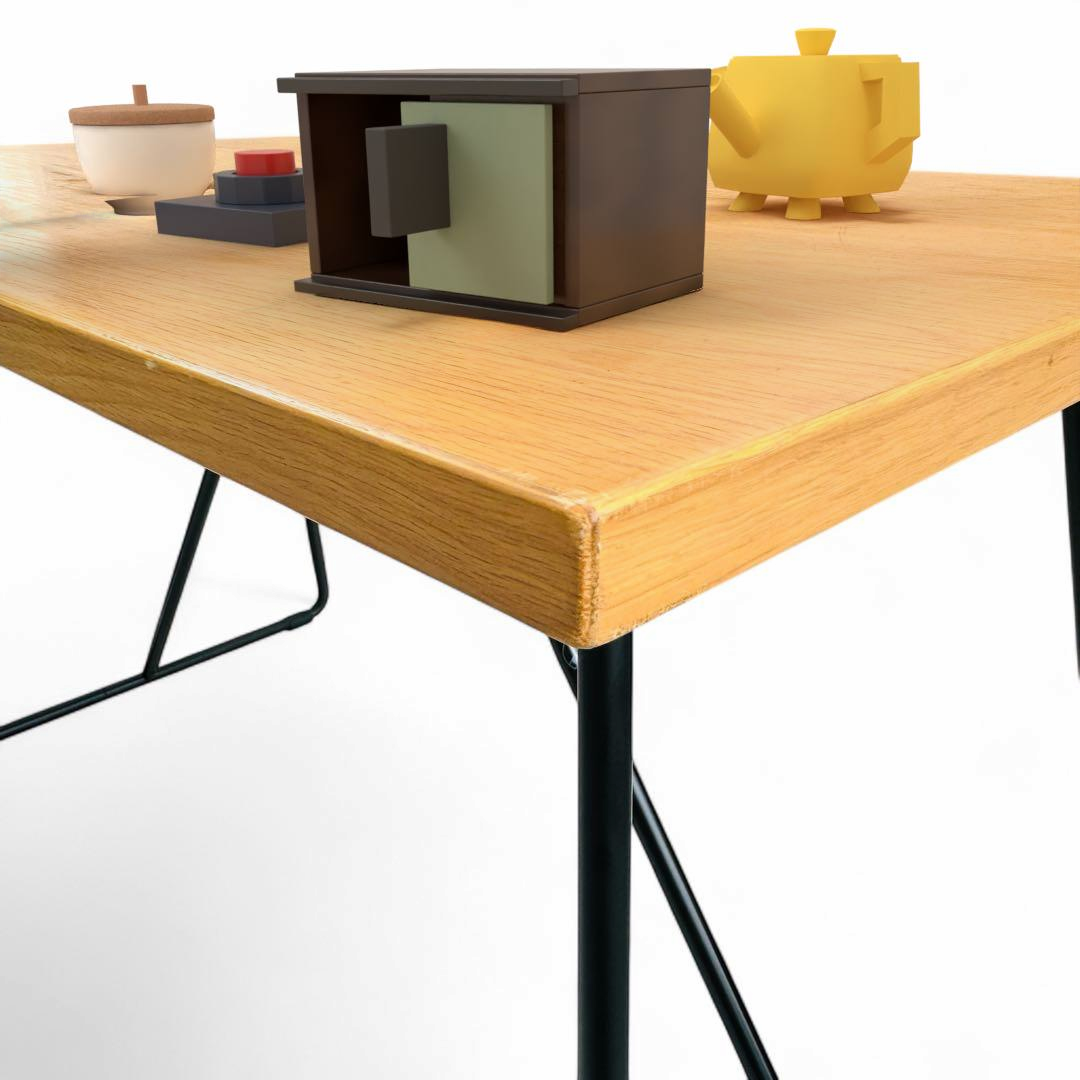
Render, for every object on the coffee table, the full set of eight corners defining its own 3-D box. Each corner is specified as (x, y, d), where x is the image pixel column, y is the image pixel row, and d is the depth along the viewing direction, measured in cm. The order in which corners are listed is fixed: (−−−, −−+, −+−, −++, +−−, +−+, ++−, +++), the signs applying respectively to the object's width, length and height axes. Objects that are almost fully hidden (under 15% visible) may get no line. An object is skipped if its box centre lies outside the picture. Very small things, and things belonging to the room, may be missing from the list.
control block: (157, 233, 84) (150, 173, 82) (268, 218, 91) (263, 162, 90) (275, 248, 77) (269, 182, 76) (384, 229, 84) (381, 170, 83)
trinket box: (61, 211, 96) (41, 85, 93) (185, 200, 103) (171, 82, 99) (119, 223, 89) (100, 87, 85) (249, 210, 95) (237, 83, 92)
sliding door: (489, 320, 51) (483, 108, 48) (350, 300, 55) (336, 105, 52) (554, 303, 54) (553, 103, 51) (417, 284, 59) (408, 101, 56)
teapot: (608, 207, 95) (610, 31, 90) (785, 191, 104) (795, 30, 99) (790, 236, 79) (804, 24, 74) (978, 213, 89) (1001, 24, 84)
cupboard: (562, 332, 53) (561, 73, 49) (294, 291, 63) (275, 73, 59) (703, 288, 62) (712, 68, 58) (450, 259, 72) (442, 68, 68)
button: (224, 179, 82) (221, 152, 82) (269, 174, 85) (266, 148, 85) (263, 182, 80) (261, 154, 79) (308, 177, 83) (306, 150, 82)
